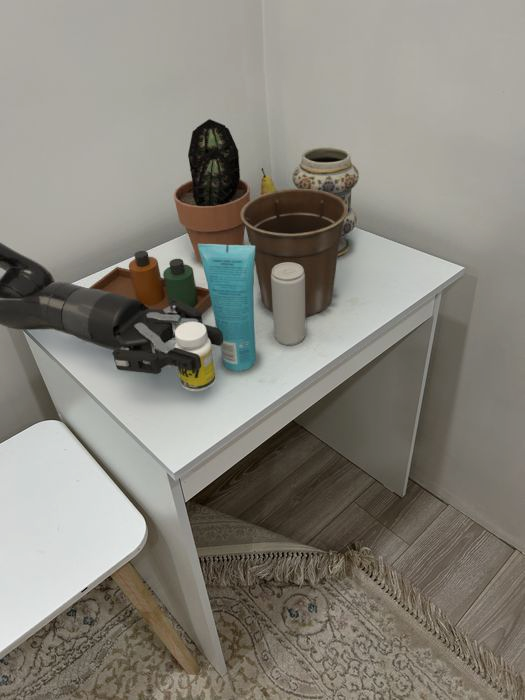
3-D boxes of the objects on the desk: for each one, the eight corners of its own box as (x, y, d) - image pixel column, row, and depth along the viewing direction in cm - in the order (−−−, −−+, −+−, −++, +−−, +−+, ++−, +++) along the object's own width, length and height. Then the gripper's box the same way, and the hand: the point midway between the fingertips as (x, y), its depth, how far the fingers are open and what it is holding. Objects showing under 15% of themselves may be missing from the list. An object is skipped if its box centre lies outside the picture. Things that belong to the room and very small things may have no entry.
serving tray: (88, 300, 96) (85, 290, 95) (119, 276, 102) (117, 266, 100) (188, 328, 88) (186, 318, 86) (216, 300, 94) (214, 290, 92)
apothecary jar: (368, 244, 106) (374, 151, 94) (326, 269, 99) (328, 172, 88) (321, 226, 113) (322, 137, 101) (280, 248, 107) (276, 156, 95)
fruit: (288, 219, 116) (286, 163, 108) (265, 227, 114) (261, 170, 106) (274, 210, 120) (272, 156, 112) (252, 217, 118) (247, 162, 110)
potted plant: (170, 256, 106) (146, 124, 91) (224, 232, 113) (210, 105, 97) (213, 282, 98) (194, 141, 83) (269, 253, 105) (261, 119, 89)
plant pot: (228, 300, 93) (218, 213, 83) (292, 263, 102) (290, 179, 92) (299, 339, 84) (297, 245, 74) (363, 294, 92) (369, 204, 82)
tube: (265, 350, 82) (256, 235, 70) (262, 372, 79) (253, 254, 66) (216, 350, 83) (200, 236, 71) (211, 371, 79) (193, 255, 67)
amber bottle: (131, 302, 94) (120, 258, 88) (148, 287, 97) (138, 244, 92) (153, 308, 92) (143, 263, 86) (170, 293, 95) (161, 249, 90)
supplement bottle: (173, 386, 72) (163, 335, 67) (193, 365, 76) (184, 315, 70) (204, 396, 71) (195, 345, 65) (222, 374, 74) (216, 324, 69)
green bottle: (164, 311, 91) (155, 266, 86) (180, 296, 94) (172, 252, 89) (188, 317, 89) (180, 272, 84) (203, 302, 92) (197, 257, 87)
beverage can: (269, 333, 86) (265, 267, 78) (296, 324, 87) (294, 258, 79) (282, 350, 82) (279, 282, 74) (311, 341, 83) (310, 273, 76)
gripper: (142, 313, 82) (240, 342, 76) (76, 371, 72) (183, 409, 66) (132, 270, 77) (236, 296, 71) (60, 325, 68) (173, 361, 61)
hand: (210, 350), depth 68 cm, fingers closed on supplement bottle, 4 cm apart
